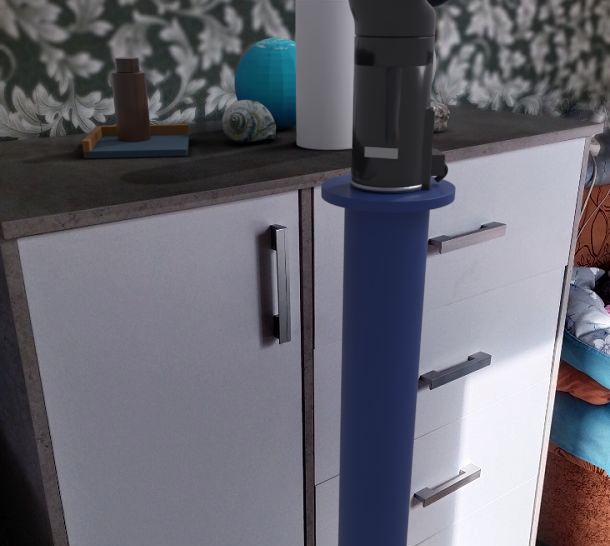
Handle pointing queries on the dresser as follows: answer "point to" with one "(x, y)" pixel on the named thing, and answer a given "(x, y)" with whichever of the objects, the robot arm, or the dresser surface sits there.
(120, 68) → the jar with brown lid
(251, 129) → the seashell
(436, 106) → the stone
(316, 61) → the tall pillar cylinder
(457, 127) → the dresser surface
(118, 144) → the corner mat
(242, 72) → the decorative orb
